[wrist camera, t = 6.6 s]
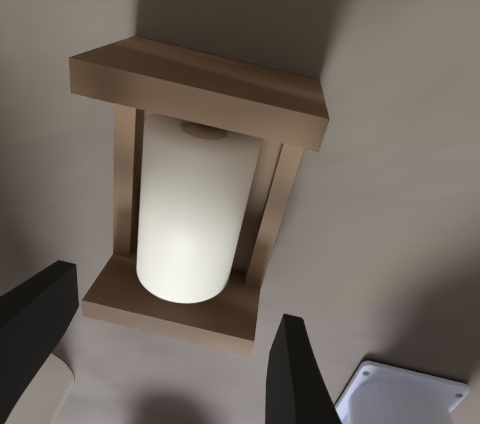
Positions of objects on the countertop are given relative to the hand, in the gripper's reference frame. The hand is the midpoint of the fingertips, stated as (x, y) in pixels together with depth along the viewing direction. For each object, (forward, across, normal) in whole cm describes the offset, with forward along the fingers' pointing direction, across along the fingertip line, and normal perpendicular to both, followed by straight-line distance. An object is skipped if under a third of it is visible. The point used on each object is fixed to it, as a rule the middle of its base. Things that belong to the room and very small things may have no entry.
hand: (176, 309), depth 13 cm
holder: (+10, +1, 0) cm, 10 cm away
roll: (+6, +1, 0) cm, 6 cm away
